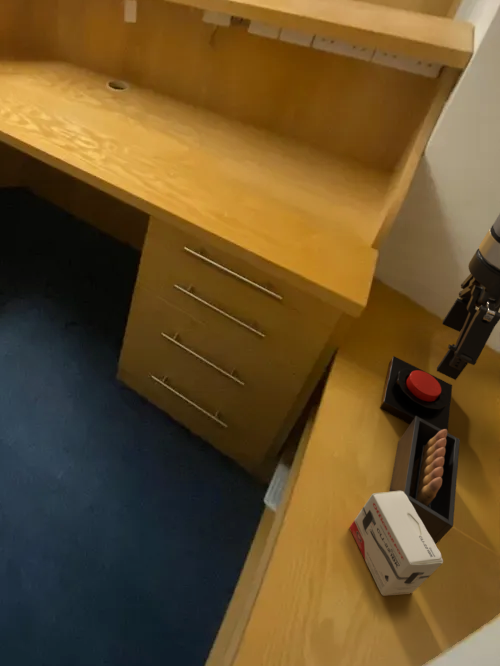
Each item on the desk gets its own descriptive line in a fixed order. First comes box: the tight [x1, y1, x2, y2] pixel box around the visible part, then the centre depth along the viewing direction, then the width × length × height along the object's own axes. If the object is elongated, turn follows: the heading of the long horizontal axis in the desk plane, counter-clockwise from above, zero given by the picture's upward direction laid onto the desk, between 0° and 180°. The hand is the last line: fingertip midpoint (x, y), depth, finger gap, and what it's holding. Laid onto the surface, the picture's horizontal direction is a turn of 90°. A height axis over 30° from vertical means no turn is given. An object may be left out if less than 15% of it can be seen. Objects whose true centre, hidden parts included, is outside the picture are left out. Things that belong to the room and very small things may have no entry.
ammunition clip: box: [409, 429, 447, 508], centre depth 81 cm, size 11×2×12 cm, turn 142°
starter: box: [379, 355, 453, 433], centre depth 97 cm, size 12×10×4 cm
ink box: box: [349, 491, 444, 597], centre depth 74 cm, size 8×5×12 cm, turn 4°
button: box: [406, 370, 441, 402], centre depth 95 cm, size 5×5×2 cm
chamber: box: [388, 416, 461, 546], centre depth 82 cm, size 6×15×8 cm, turn 142°
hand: (448, 349), depth 89 cm, fingers open, 11 cm apart
